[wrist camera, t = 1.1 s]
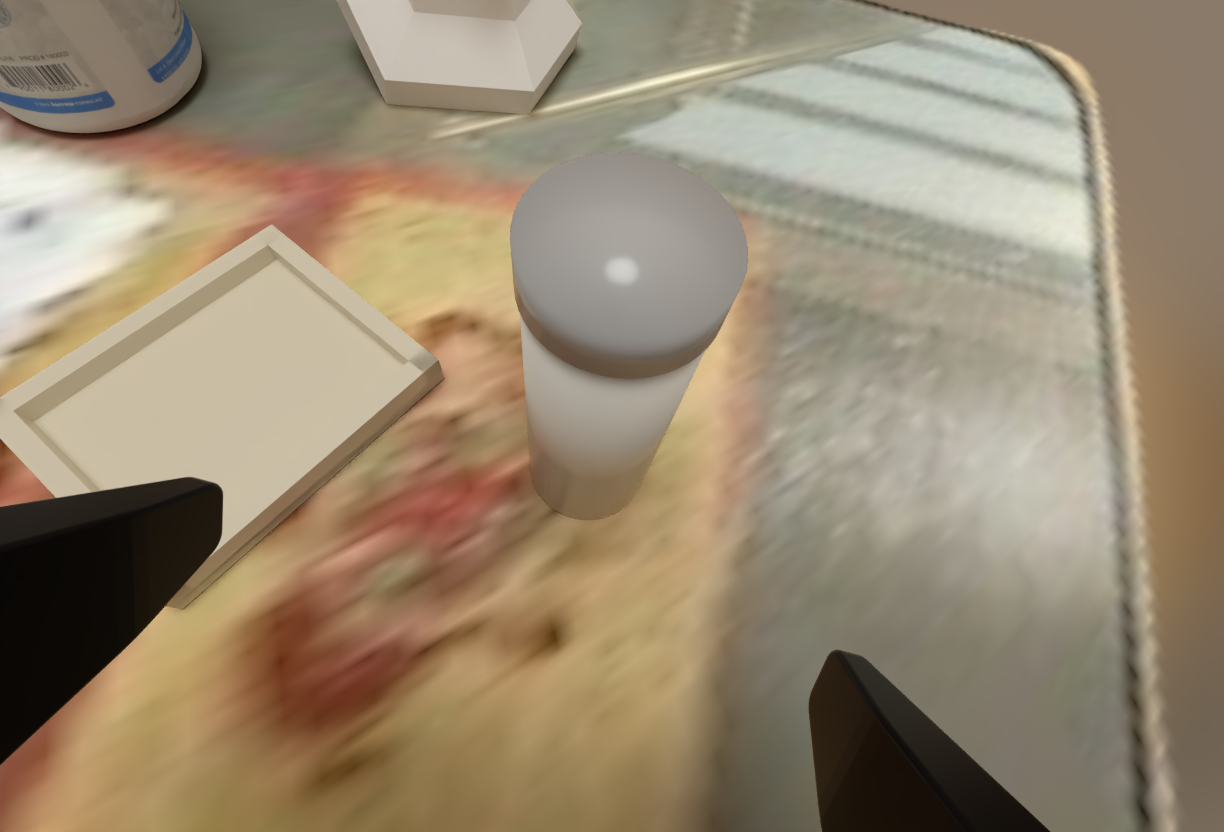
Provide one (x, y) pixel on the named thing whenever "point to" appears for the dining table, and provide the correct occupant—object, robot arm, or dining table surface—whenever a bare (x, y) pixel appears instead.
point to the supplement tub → (94, 62)
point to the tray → (224, 393)
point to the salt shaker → (615, 316)
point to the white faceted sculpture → (463, 50)
